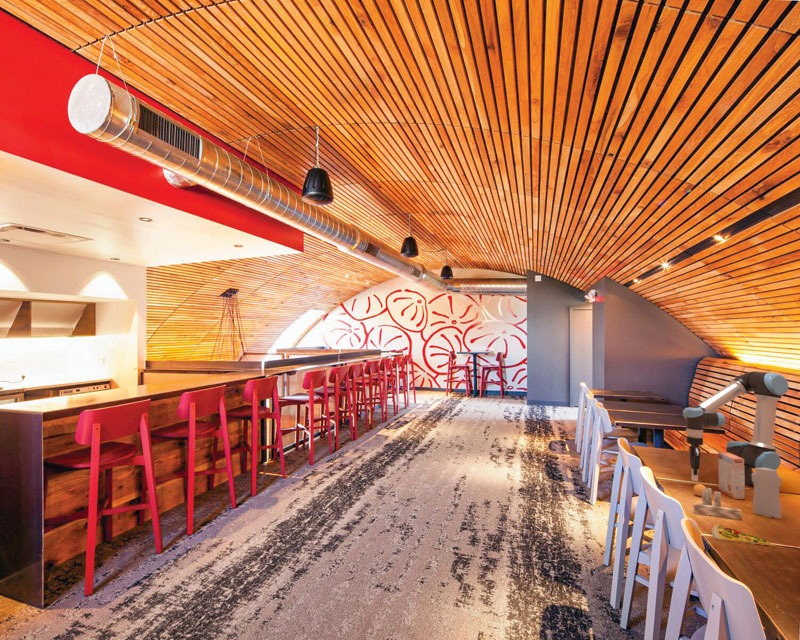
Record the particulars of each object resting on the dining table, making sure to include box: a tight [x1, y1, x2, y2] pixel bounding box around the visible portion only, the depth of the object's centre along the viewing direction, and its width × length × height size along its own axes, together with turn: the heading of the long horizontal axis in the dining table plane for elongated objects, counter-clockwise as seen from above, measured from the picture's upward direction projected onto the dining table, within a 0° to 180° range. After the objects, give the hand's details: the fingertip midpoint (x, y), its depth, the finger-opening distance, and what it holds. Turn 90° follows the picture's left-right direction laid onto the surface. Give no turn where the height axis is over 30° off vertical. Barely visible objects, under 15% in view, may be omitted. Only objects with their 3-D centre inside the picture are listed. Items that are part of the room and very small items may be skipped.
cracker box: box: [717, 451, 746, 501], centre depth 228 cm, size 14×6×21 cm, turn 168°
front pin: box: [706, 487, 713, 506], centre depth 211 cm, size 2×2×8 cm
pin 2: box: [713, 490, 722, 507], centre depth 206 cm, size 2×2×8 cm
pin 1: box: [701, 490, 708, 505], centre depth 208 cm, size 2×2×8 cm
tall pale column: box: [752, 468, 782, 520], centre depth 200 cm, size 11×4×22 cm, turn 54°
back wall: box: [693, 503, 743, 521], centre depth 199 cm, size 18×2×4 cm, turn 68°
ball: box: [693, 483, 707, 497], centre depth 225 cm, size 6×6×6 cm
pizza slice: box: [710, 524, 776, 547], centre depth 175 cm, size 16×21×3 cm
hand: (694, 480), depth 234 cm, fingers closed
